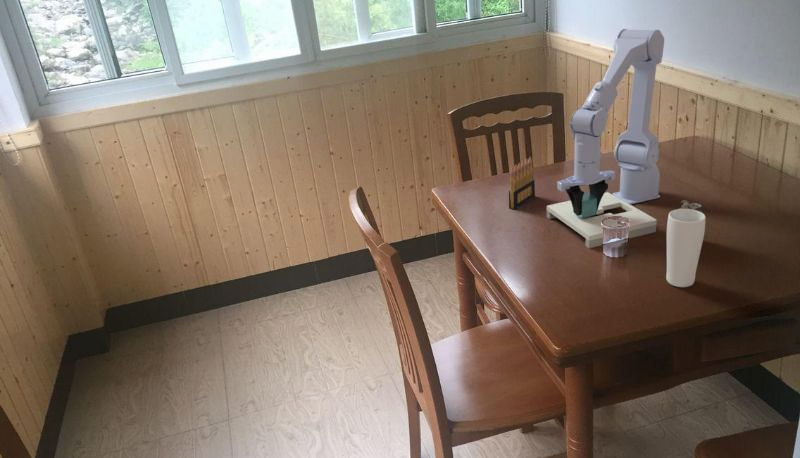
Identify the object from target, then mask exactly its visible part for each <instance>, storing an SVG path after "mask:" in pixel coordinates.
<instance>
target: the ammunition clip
mask: <svg viewBox="0 0 800 458" xmlns="http://www.w3.org/2000/svg"><path fill="white" fill-rule="evenodd" d="M535 186H536V185H535V179H534V168H533V159H532V156H529V158H525V160H522V161H521V162H518V164H515V165H514V167H513V166H511V169H510V179H509V190H508V208H509V209H512V210H517V209H518V208H519V207H521V206H523V205H524V204H526V203H528V202H529V201H530V200H531V199H533V198H535V197H536V188H535Z"/></svg>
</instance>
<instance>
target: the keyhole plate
mask: <svg viewBox="0 0 800 458" xmlns="http://www.w3.org/2000/svg"><path fill="white" fill-rule="evenodd" d="M616 208H622V209H623V210H625V212H620V213H619V212H618V213H614V214H613V213H611V212H608V213H604V211H607V210H612V209H616ZM596 215H597V216H596ZM596 215H594V216H590V217H589V218H586V219H583V218H581V217H580V216H578V215H576V214H575V213H574V212H573V206H572V203H571V200H567V201H562V202H558V203H553V204H549V205H546V218H548V220H551V219H552V220H553V219H558V220H560V221H561V222H563V223H564V224H565V225H567V226H568V227H570V228H571V229H572V230H574V231H575V232H577V233H578V234H579V235H580V236H582V237H583V238H585V242H584V243H585V247H587V248H588V249H592V248H596V247H600V246H603V245H602V244H603V229H602V226H601V222H602V220H603V219H604V218H608V217H612V216H622V217H626V218H629V219H630V228H629V239H632V238H637V237H641V236H645V235H649V234H653V233H656V232H657V223H658V222H657V221H658V220H657V219H656V218H655V217H653V216H651V215H649V214H647V213H645V212H644V211H642V210H640V209H639V208H637V207H635V206H633V205H632V204H628V203H626V202H624V201H623V200H621V199H619V198H617V197H616V196H614V195H613V193H610V192H608V191H606V192H605V193H604V195H603V197H602V199H601V201H600V204H599V207H598V210H597V211H596ZM603 223H604V224H605V225H607V226H611V227H617V226H622V225H620V224H618V223H617V222H616V220H613V219H607V220H604V222H603Z"/></svg>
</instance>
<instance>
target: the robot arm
mask: <svg viewBox="0 0 800 458" xmlns="http://www.w3.org/2000/svg"><path fill="white" fill-rule="evenodd" d="M664 48H665V37H664V35H663V33H662V32H661V31H660V30H659V29H654V30H652V29H627V28H621V29H620V30H619V31H618V32H617V34H616V35H615V40H614V41H613V57H612V58H611V61H610V62H609V65H608V68H607V69H606V72H605V74H604V77H603V79H602V81H597V82H596V83H595V84H594V86H593V87H592V89H591V91H590V92H589V94H588V96H587V97H586V100H585V101H584V103H583V104H582V106H581V108H578V109H577V110H575V111H574V112H573V113H572V115H571V118H570V122H569V129H570V132H571V134H572V137H571V138H572V139H571V140H573V141H574V156H573V157H574V159H573V160H574V162H573V165H574V166H573V167H574V169H573V175H571V176H569V177H566V178H565V179H562V180H558V181H557V183H556V185H557V187H556V188H557V190H558V191H560V192H566V193H567V195H568V197H569V199H570V200H571V203H572V206H573V211H574V213H575V214H576V215H578V216H579V215H581V205H582V198H583V195H584V193H585V191H583V190H581V187H585V186H588V189H589V190H588V191H589V194H591V195H593V196H594V197H596V198H597V210H598V207H599V204H600V201H601V199H602V197H603V195H604V193H606V192H607V190H608V189H609V184H608V183H607V182H606V181H615V180H616V171H613V170H602V171H600V163H601V159H600V158H601V156H600V155H601V154H600V153H601V136H602V134H603V133H604V132H605V129H606V126H607V122H608V118H609V111H610V110H611V108H612V106H613V104H614V103H615V100H616V99H617V96H618V94H619V93H618V89H617V87H618V85H619V84H620V82H622V80H623V78H624V76H625V75H626V74H627V73H628V71H629V69H630V68H631V66H632V67H633V68H634V69H633V79H632V88H631V96H630V104H629V112H628V122H627V130H625V131H623V132H622V133H620V134H619V135H618V136H617V141H616V145H615V146H614V150H613V156H614V159H615V162H617V163H618V164H617V165H618V166H619V167H620V176H619V178H620V179H619V191H617V192H616V191H615V192H613V193H612V195H614V196H616V197H617V198H619V199H621V200H623V201H624V202H626V203H628V204H630V205H633V204H639V203H642V202H646V201H651V200H655V199H660V198H661V195H659V191H660V190H659V189H660V178H661V177H660V176H661V175H660V170H659V167H658V166H657V162H658V159H659V155H660V150H659V137H658V136H656V135H655V134H654V133H653V132H652V131H650V121H651V120H650V119H651V114H652V113H651V112H652V106H653V105H652V104H653V95H654V89H655V82H656V81H655V79H656V72H657V65H659V64H661V63H662V61H663V57H664V56H663V54H664ZM570 200H569V201H570Z"/></svg>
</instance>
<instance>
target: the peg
mask: <svg viewBox="0 0 800 458" xmlns="http://www.w3.org/2000/svg"><path fill="white" fill-rule="evenodd" d="M596 211H597V198H596V197H594V196H593V195H591V194H590V192H584V195H583V198H582V205H581V215H579V216H580V217H581V218H583V219H586V218H590V217H594V216H596ZM573 212H574V211H573Z"/></svg>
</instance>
